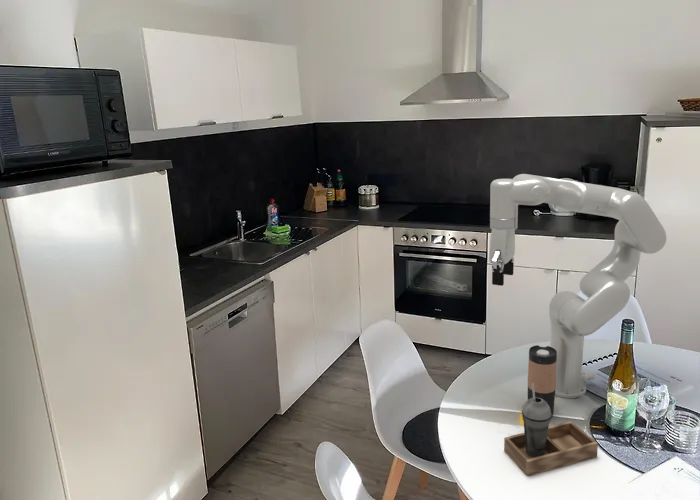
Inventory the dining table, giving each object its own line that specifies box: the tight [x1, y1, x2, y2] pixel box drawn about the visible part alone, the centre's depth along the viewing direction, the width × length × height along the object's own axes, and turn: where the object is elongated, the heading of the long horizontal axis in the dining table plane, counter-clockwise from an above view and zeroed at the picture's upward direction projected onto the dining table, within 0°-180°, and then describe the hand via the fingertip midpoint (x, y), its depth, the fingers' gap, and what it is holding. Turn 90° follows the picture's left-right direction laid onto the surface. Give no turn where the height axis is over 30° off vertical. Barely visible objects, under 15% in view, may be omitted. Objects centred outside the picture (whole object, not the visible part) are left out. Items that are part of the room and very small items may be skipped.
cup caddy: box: [503, 420, 599, 477], centre depth 144 cm, size 20×11×4 cm, turn 106°
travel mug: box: [527, 345, 557, 417], centre depth 160 cm, size 8×8×20 cm
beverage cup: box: [521, 383, 553, 458], centre depth 142 cm, size 7×7×20 cm
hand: (502, 279), depth 163 cm, fingers open, 9 cm apart
